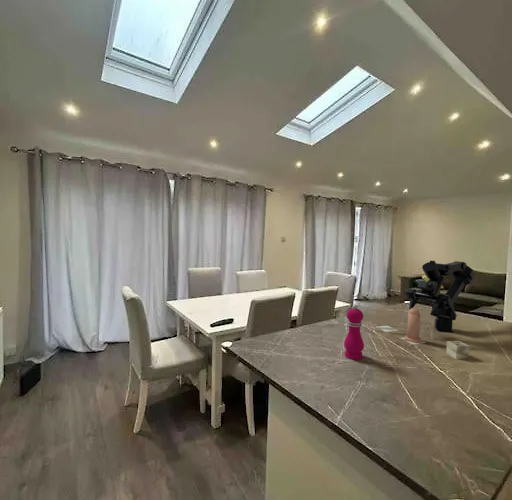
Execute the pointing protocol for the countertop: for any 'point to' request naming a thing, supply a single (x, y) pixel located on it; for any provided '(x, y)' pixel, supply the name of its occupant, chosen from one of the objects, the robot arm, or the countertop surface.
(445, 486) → the countertop surface
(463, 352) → the die
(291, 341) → the countertop surface
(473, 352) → the countertop surface
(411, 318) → the tan knob handle
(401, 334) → the board
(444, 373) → the countertop surface
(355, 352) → the pepper mill
